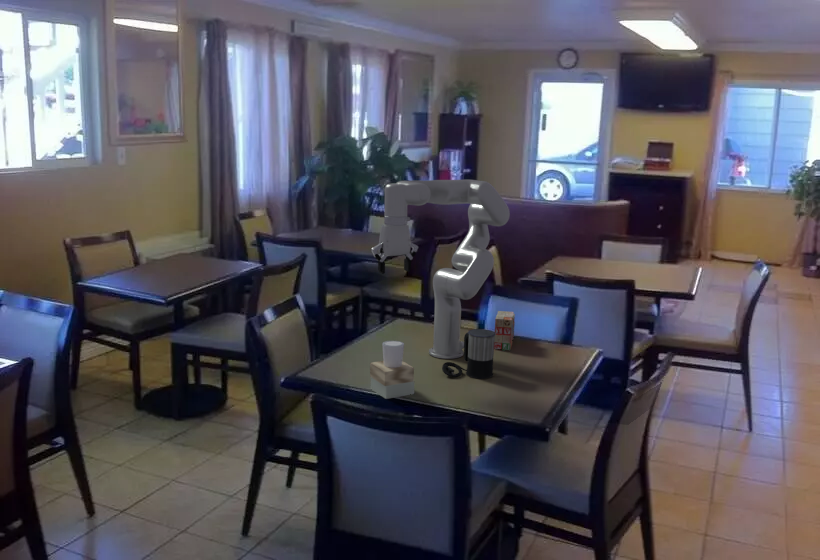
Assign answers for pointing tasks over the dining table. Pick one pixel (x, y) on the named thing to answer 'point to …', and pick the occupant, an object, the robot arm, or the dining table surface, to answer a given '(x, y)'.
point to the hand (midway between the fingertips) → (394, 272)
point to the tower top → (391, 373)
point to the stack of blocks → (504, 330)
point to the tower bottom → (392, 389)
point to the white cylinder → (393, 353)
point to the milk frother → (475, 355)
